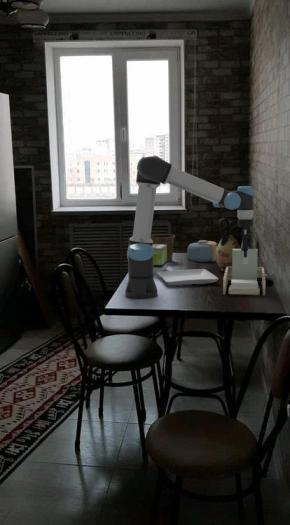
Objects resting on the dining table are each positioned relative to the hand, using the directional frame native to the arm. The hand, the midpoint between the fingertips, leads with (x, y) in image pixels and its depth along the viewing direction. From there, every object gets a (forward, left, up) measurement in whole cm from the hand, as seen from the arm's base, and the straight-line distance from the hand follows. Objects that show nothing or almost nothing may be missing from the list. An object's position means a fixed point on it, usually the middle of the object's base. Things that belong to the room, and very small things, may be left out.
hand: (245, 261), depth 260 cm
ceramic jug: (+38, +10, -12) cm, 41 cm away
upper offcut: (-16, 0, -10) cm, 19 cm away
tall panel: (0, 0, -12) cm, 12 cm away
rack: (-4, 0, -12) cm, 13 cm away
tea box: (+32, +50, -12) cm, 61 cm away
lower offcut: (-16, 0, -13) cm, 20 cm away
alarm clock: (+74, +27, -12) cm, 80 cm away
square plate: (+8, +30, -13) cm, 34 cm away
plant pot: (+65, +52, -12) cm, 84 cm away
